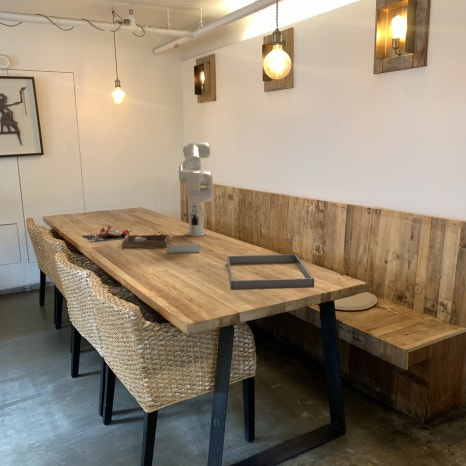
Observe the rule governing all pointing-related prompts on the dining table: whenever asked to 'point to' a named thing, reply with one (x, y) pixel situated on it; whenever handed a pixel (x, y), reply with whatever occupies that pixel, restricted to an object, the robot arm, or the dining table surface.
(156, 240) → the reed diffuser
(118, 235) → the platter
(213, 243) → the dining table surface
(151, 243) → the walnut tray
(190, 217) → the terracotta block
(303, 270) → the charcoal rectangular open frame
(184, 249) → the slate mat
